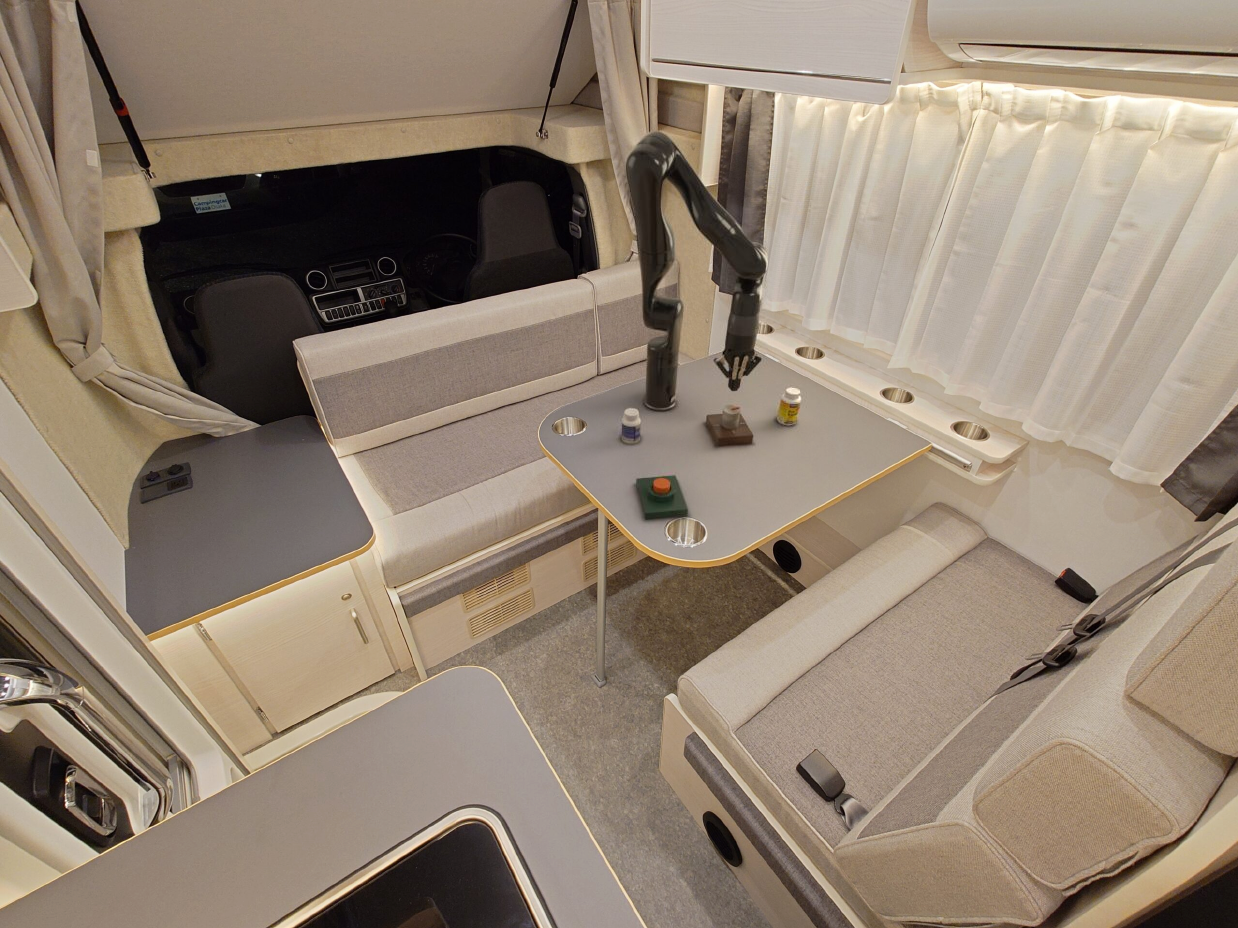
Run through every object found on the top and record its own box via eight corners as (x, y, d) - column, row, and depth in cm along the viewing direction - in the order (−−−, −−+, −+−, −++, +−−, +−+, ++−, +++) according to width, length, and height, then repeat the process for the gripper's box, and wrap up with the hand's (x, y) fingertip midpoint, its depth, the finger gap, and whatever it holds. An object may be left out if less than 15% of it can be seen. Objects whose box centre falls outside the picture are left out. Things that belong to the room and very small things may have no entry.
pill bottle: (638, 445, 154) (639, 418, 149) (619, 443, 155) (620, 415, 150) (641, 434, 158) (642, 407, 153) (623, 432, 159) (623, 405, 154)
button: (651, 484, 135) (652, 478, 134) (667, 482, 135) (668, 477, 134) (654, 494, 132) (655, 489, 131) (671, 493, 132) (671, 487, 131)
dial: (725, 430, 155) (727, 414, 152) (718, 421, 159) (720, 405, 156) (741, 427, 156) (743, 411, 153) (733, 418, 160) (735, 402, 157)
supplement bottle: (784, 428, 162) (791, 397, 156) (772, 418, 166) (779, 388, 160) (800, 423, 164) (807, 393, 157) (787, 414, 168) (794, 384, 161)
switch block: (636, 485, 140) (636, 472, 138) (674, 481, 142) (675, 469, 139) (645, 520, 130) (645, 507, 128) (687, 516, 131) (688, 503, 129)
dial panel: (705, 423, 163) (706, 414, 162) (738, 420, 165) (739, 411, 163) (717, 446, 154) (718, 437, 152) (751, 444, 155) (753, 434, 153)
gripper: (760, 320, 143) (750, 380, 154) (711, 325, 141) (705, 385, 151) (773, 332, 138) (762, 393, 148) (723, 337, 135) (715, 399, 145)
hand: (733, 389), depth 150 cm, fingers closed
